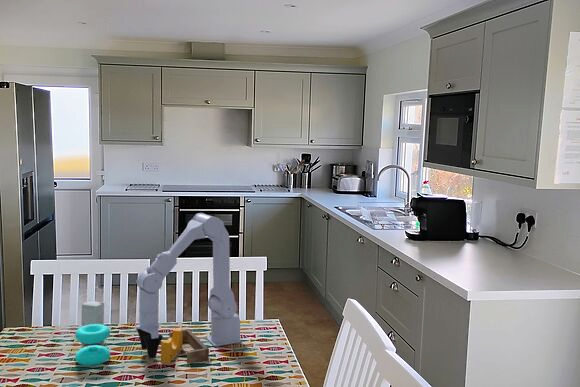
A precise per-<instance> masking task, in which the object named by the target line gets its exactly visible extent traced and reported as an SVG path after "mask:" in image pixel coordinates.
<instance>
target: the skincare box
mask: <svg viewBox="0 0 580 387" xmlns="http://www.w3.org/2000/svg"><path fill="white" fill-rule="evenodd" d="M104 320H105V303H104V302H101V301H100V302H99V301H94V300H88V301H86V302H83V303H82V304H81V325H80V326H81V327H82V326H85V325H90V324H102V325H105V324H104V322H105V321H104Z"/></svg>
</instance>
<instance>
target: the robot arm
mask: <svg viewBox="0 0 580 387" xmlns="http://www.w3.org/2000/svg"><path fill="white" fill-rule="evenodd" d="M206 237H207V238H208V239H209V240H210V241H212V274H213V276H212V278H213V280H212V281H213V284H212V285H213V286H212V288H211V289H210V290H209V298H208V300H207V306H208V309H209V310H210V336H207V337H206V340H207V341H209V343H210V344H212V345H213V347H219V346H221V347H222V346H226V345H232V344H237V343H238V344H239V343H241V342H242V340H241V319H240V316H239V314H237V313H236V312H237V310H238V304H237V303H236V301H235V294H234V292H233V291H232V289H231V286H230V285H231V284H230V282H231V280H230V279H231V278H230V276H231V275H230V272H231V271H230V269H231V268H230V266H231V265H230V261H231V260H230V257H231V256H230V235H229V232H228V230H227V228H226V227H225V223H224V221H223V220H221V219H220V218H219V217H218V216H212V215H208V214H205V213H204V212H199V213H196V214H195V215H194V216H193V218H191V220H189V221H188V222H187V226H186V228H185V229H184V230H183V232H182V233H181V234H180V236H178V238H177V239H176V241H174V243H173V244H172V246H171V247H170V248H169V250H167V251H162V252H161V253H158V254H157V255H156V256H155V257H156V259H155V260H154V261H153V262H152V263H151V264H150V266H147V267H146V269H145V270H144V271H142V272H140V274H139V275H138V276H137V279H136V280H135V283H136V285H137V286H138V288H139V295H138V296H139V297H138V298H139V299H138V302H139V303H138V304H139V307H138V308H139V309H138V312H139V318H138V319H139V322H138V324H135V326H134V327H135V330H136V331H137V334H138V338H139V341H140V346H141V349H142V350H146V353H147V357H148V359H154V358H156V357H157V355H158V354H157V353H158V349H159V347H160V345H161V342H162V341H163V338H164V336H163V335H162V334H160V332H159V330H160V329H159V328H160V323H159V296H160V295H159V290H160V289H162V286H163V281H164V279H165V278H166V277H167V276H168V274H169V273H170V272H171V271H172V270H173V269H174V268H175V266H176V265H177V263H178V262H177V259H178V258H179V256H180V255H181V254H182V253H183V252H184V251H185V250H186V249H187V248H188V247H189V246H190V245H191V244H192V243H193V241H195V240H200V239H201V240H202V239H206Z"/></svg>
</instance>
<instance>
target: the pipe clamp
mask: <svg viewBox="0 0 580 387" xmlns="http://www.w3.org/2000/svg"><path fill="white" fill-rule="evenodd" d="M183 330H184V329H182V328H175V327H174V329H173V330H172V331H173V335H172V338H169V337H168V338H167V339H162V340H161V342H160V363H162V364H170V363H171V361H172V360H173V359H175V357H176V356H177V355H178V354H179V353H180V352H181V350H182V349H183V341H182V334H183Z"/></svg>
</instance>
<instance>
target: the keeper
mask: <svg viewBox="0 0 580 387" xmlns="http://www.w3.org/2000/svg"><path fill="white" fill-rule="evenodd" d="M168 334H169V336H168V339H169V338H172V335H173V330H172V331H169V333H168ZM184 341H185V342H187V344H189V345H190V346H191V348H193V350H192V349H191V350H186V363H187V364H194V363H199V362H203V361H204V362H205V361H209V360H210V349H209V347H207V345H206V344H204V342H203V341H201V339H200V338H199V337H197V336H196V334H195V333H194V332H192V330H190V328H185V329H183V334H182V342H184Z"/></svg>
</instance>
